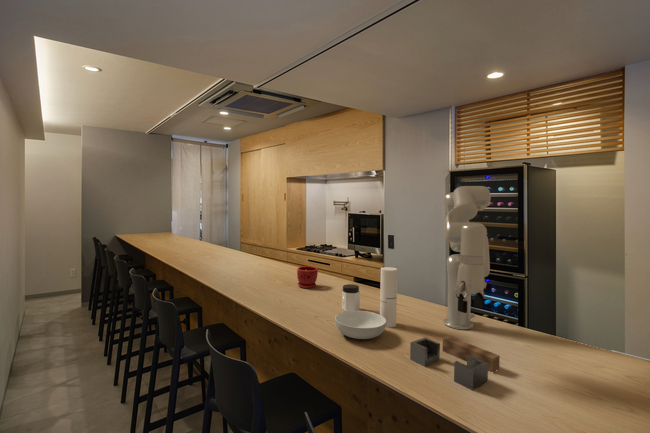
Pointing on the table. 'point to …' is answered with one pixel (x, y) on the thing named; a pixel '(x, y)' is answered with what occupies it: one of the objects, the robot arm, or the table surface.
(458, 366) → the bracket
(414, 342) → the bracket
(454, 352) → the walnut rail
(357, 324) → the serving bowl
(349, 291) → the jar
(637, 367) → the table surface
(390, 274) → the cylindrical container
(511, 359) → the table surface
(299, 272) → the plant pot
